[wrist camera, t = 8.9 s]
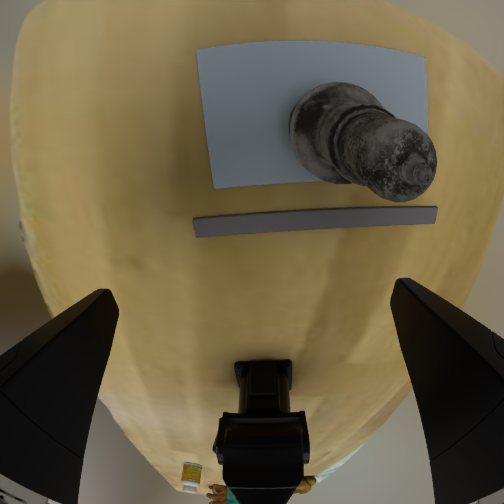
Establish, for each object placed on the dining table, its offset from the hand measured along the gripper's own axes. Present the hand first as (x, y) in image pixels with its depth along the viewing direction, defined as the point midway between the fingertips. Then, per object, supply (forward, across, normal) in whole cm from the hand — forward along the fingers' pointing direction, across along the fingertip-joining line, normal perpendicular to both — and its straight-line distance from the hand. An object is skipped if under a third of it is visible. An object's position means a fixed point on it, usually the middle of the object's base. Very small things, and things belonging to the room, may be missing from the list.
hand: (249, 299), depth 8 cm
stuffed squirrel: (+15, +21, +125) cm, 127 cm away
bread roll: (+15, -9, +99) cm, 101 cm away
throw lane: (+13, -5, -3) cm, 14 cm away
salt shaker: (+12, -5, -4) cm, 14 cm away
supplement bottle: (+14, +23, +78) cm, 82 cm away
